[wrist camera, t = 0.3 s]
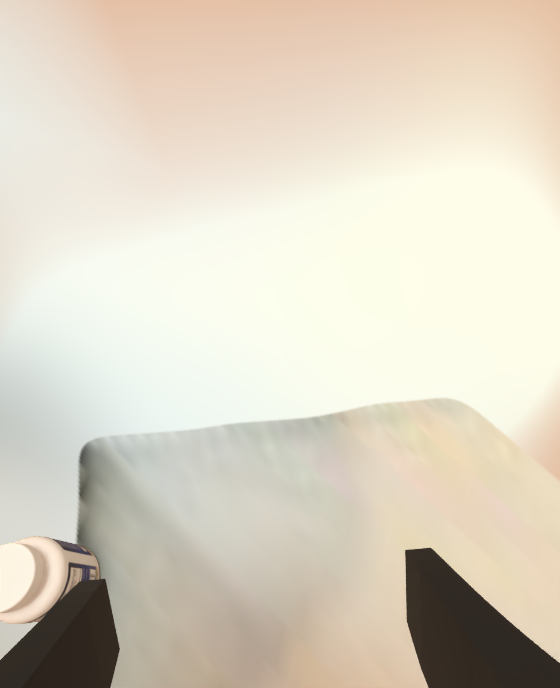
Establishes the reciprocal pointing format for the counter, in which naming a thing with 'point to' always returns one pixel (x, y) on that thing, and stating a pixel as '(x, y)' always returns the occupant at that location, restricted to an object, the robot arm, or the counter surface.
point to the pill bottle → (40, 576)
